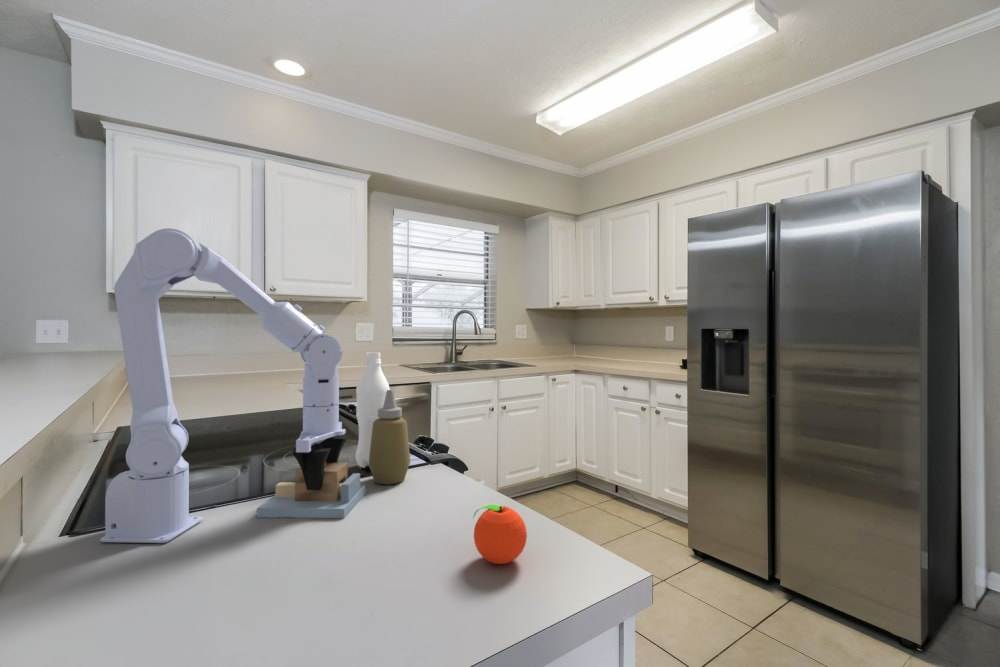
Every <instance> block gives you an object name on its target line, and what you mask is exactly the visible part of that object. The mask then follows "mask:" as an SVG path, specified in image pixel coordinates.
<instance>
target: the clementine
mask: <svg viewBox="0 0 1000 667" xmlns="http://www.w3.org/2000/svg"><path fill="white" fill-rule="evenodd" d="M481 509H482V510H483V509H486V510H485V511H484V512H482V514H481V515H480V516H479V517H478V519H477V520H476V522H475V524H474V528H473V529H474V531H473V539H474V545H475V548H476V550H477V551H478V553H479V554H480V555H481V557H482V558H483V559H485V560H486V561H488V562H489V563H492V564H495V565H506V564H508V563H511V562H513V561H514V560H516V559H518V557H519V556H520V555H521V554H522V553H523V552H524V549H525V546H526V543H527V539H528V534H527V526H526V524H525V522H524V520H523V517H521V515H520V514H519V513H518V511H516V510H514V509H513V508H511V507H509V506H505V505H496V504H488V505H485V506H482V507H480V508H478V509H476V511H475V512H474V514H473V518H472V519H474V518H475V516H476V514H477V513H478V512H479V511H480V510H481Z"/></svg>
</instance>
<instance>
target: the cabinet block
mask: <svg viewBox="0 0 1000 667" xmlns="http://www.w3.org/2000/svg"><path fill="white" fill-rule="evenodd" d="M348 467H349V463H348V462H337V463H325V468H324V475H323V483H322V487H321V489H320V490H307V487H306V484H305V480H304V476H303V473H302V470H301V467H299V468H298V469H295V471H294V482H295V501H322V502H337V501H338V500H339V483H344V482H345V481H346V480H347V479H348V478H349V476H348V475H349V474H348V473H349V472H348V470H349V469H348Z"/></svg>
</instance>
